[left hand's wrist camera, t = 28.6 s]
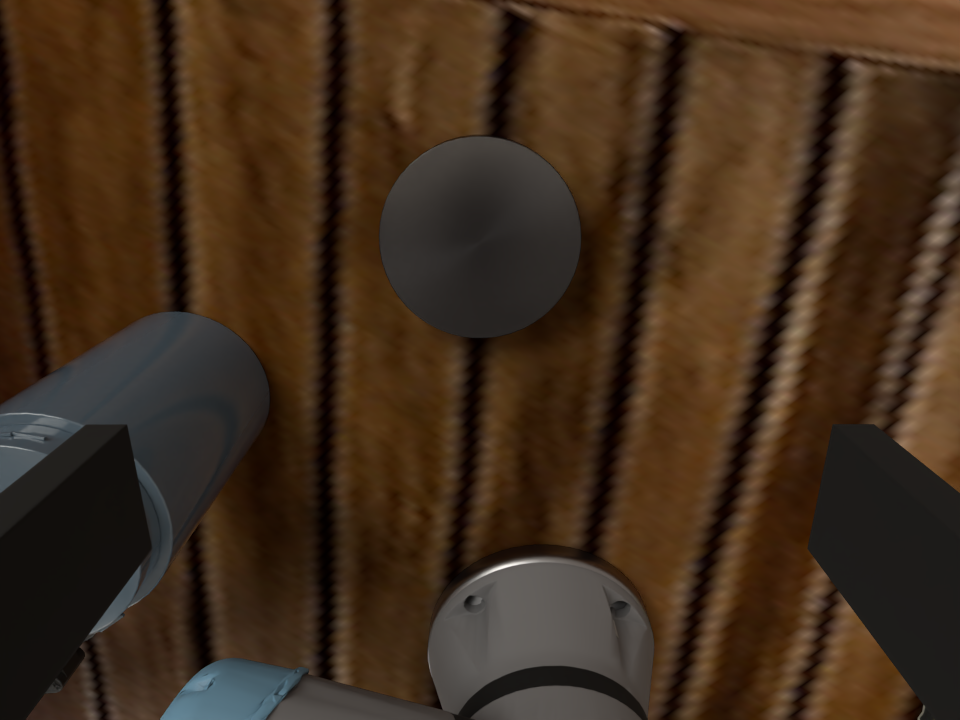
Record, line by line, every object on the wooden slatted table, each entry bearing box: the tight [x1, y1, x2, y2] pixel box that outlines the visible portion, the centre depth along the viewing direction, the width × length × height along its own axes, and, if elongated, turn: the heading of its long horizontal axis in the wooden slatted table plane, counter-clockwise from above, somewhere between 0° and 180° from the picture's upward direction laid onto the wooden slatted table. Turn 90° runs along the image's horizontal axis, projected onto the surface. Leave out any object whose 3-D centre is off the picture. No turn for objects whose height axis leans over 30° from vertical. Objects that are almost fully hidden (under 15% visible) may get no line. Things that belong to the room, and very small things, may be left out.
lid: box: [379, 135, 581, 338], centre depth 37 cm, size 11×11×2 cm
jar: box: [0, 312, 270, 635], centre depth 33 cm, size 10×10×16 cm
